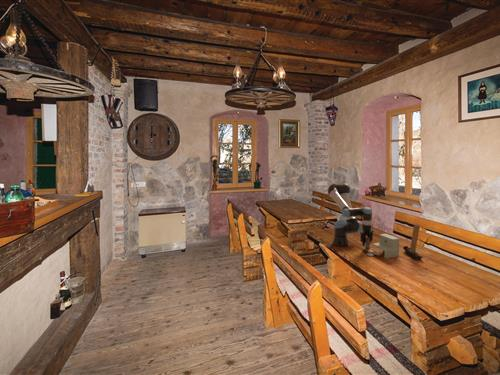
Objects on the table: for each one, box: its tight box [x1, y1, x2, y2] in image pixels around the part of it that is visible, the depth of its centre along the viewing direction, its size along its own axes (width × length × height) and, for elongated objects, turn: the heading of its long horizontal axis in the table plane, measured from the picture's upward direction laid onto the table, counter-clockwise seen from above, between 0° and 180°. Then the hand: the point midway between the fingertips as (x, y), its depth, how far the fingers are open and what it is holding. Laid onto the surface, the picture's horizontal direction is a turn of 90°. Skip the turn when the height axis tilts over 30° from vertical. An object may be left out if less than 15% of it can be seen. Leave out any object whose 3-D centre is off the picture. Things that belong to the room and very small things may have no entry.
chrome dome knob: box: [366, 251, 375, 257], centre depth 239 cm, size 6×6×2 cm
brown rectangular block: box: [362, 236, 382, 257], centre depth 243 cm, size 18×4×12 cm, turn 19°
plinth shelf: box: [371, 233, 400, 259], centre depth 239 cm, size 16×14×16 cm
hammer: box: [402, 223, 424, 260], centre depth 230 cm, size 20×5×30 cm, turn 1°
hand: (366, 248), depth 250 cm, fingers closed on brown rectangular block, 4 cm apart
